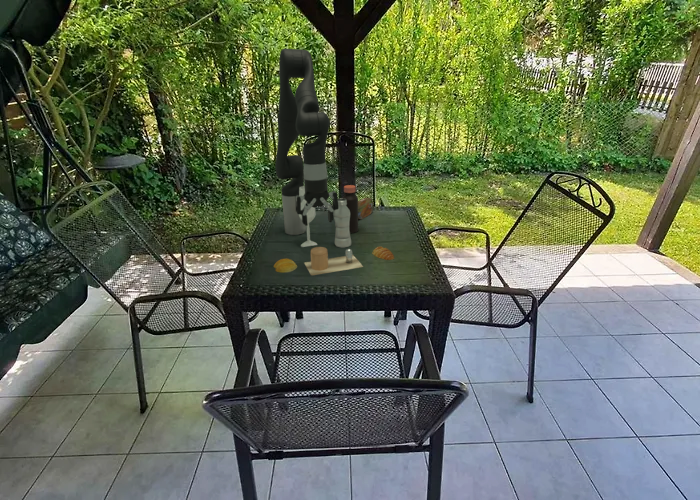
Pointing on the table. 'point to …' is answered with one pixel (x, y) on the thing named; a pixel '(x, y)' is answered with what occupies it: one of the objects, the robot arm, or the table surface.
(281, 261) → the bread roll
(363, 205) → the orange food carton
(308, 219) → the champagne flute
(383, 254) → the pastry
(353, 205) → the vinegar
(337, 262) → the board
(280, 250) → the table surface
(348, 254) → the post
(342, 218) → the plastic bottle
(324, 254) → the cap
